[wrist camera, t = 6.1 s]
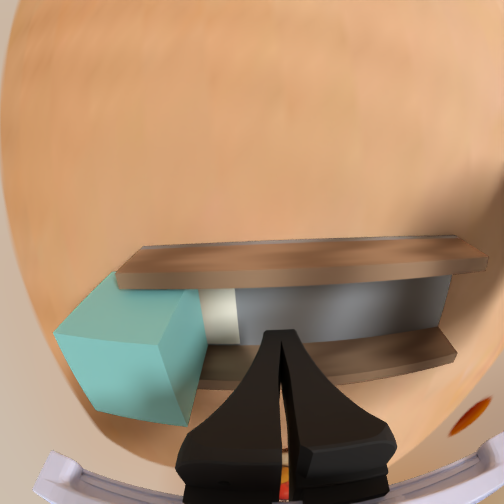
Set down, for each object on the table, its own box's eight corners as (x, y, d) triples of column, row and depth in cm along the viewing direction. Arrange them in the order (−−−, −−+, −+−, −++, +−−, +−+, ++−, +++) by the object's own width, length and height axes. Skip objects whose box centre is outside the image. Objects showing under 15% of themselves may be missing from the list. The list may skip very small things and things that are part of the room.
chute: (455, 235, 14) (488, 256, 11) (431, 331, 16) (453, 362, 13) (135, 246, 15) (106, 273, 12) (160, 347, 17) (144, 383, 14)
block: (194, 270, 14) (157, 345, 9) (207, 345, 16) (187, 426, 10) (112, 271, 15) (52, 332, 9) (133, 341, 16) (95, 410, 11)
